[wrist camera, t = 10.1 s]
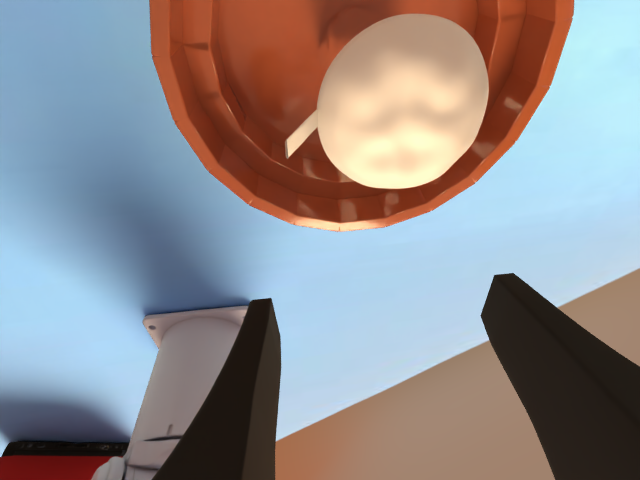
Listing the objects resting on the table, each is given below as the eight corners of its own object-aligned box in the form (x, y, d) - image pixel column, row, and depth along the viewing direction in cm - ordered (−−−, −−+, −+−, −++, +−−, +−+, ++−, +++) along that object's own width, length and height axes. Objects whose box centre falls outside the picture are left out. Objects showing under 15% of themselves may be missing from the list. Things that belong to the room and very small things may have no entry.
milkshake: (282, -16, 14) (278, 30, 6) (416, -16, 14) (564, 28, 7) (288, 101, 17) (290, 230, 9) (399, 99, 17) (490, 223, 10)
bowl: (471, 170, 21) (508, 215, 17) (226, 194, 21) (214, 244, 17) (559, -218, 12) (674, -287, 8) (123, -182, 12) (52, -236, 8)
